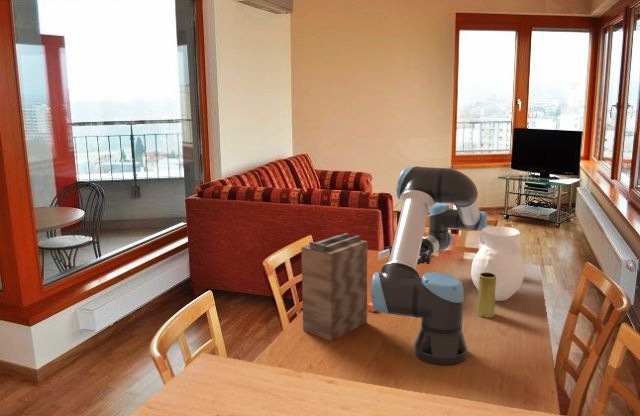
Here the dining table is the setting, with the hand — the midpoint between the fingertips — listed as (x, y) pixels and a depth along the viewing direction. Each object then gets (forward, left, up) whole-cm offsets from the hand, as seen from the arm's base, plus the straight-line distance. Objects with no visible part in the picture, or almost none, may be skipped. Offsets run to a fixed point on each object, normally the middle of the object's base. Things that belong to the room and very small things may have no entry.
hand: (393, 260), depth 205 cm
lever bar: (-2, +1, -15) cm, 15 cm away
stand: (-25, +21, -14) cm, 36 cm away
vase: (-15, -30, -15) cm, 37 cm away
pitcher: (+2, -38, -15) cm, 41 cm away
